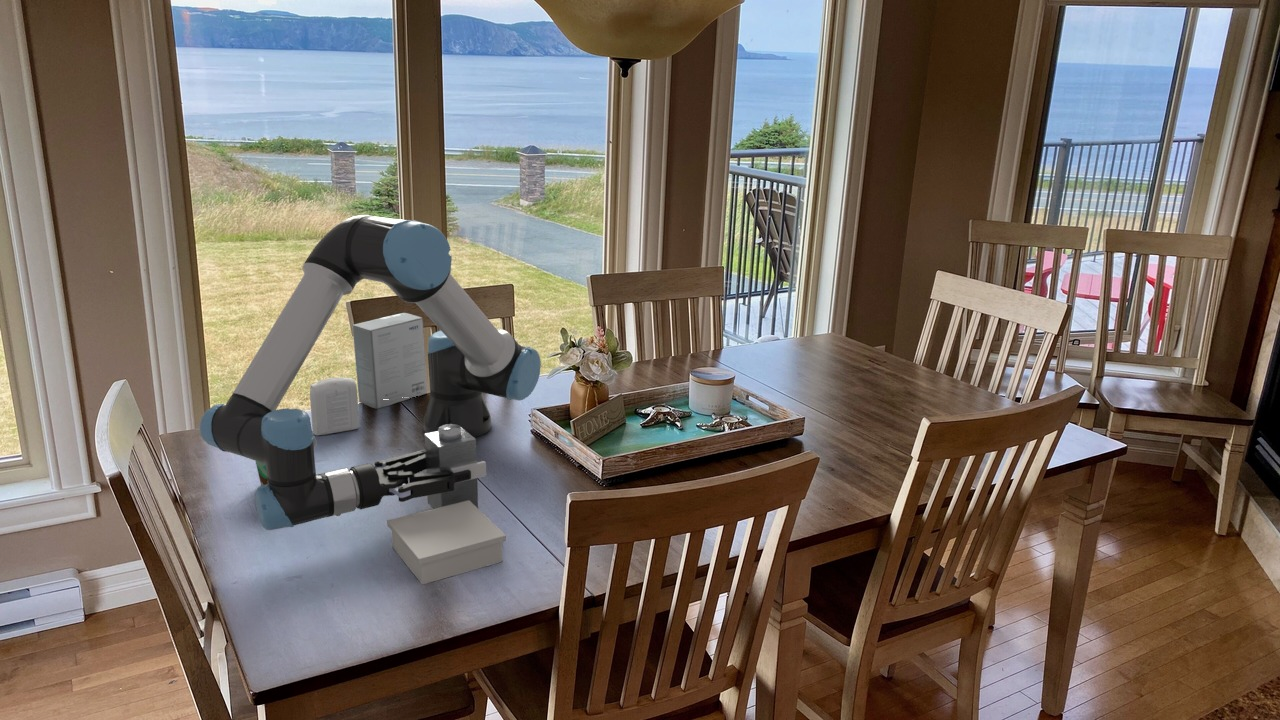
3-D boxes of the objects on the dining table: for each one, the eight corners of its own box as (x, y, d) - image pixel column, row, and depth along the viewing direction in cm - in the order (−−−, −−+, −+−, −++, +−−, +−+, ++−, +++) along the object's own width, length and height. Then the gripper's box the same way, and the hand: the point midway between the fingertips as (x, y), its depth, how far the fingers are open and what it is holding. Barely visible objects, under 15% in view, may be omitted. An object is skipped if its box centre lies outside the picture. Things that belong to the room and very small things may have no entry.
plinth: (469, 525, 165) (469, 500, 163) (506, 561, 153) (505, 535, 152) (388, 546, 157) (387, 520, 155) (420, 586, 145) (419, 559, 144)
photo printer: (356, 423, 210) (352, 372, 206) (362, 429, 206) (358, 377, 203) (310, 431, 204) (305, 379, 201) (315, 438, 201) (311, 385, 197)
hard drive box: (409, 387, 234) (405, 311, 228) (428, 394, 230) (425, 317, 223) (357, 402, 223) (351, 323, 217) (375, 410, 218) (370, 329, 212)
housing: (462, 494, 174) (460, 418, 169) (478, 509, 169) (475, 430, 164) (427, 503, 170) (423, 425, 165) (442, 518, 165) (438, 438, 160)
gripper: (337, 486, 166) (456, 460, 179) (373, 532, 151) (500, 500, 163) (334, 448, 164) (454, 424, 176) (370, 491, 148) (499, 461, 161)
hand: (476, 460), depth 170 cm, fingers closed on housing, 7 cm apart
